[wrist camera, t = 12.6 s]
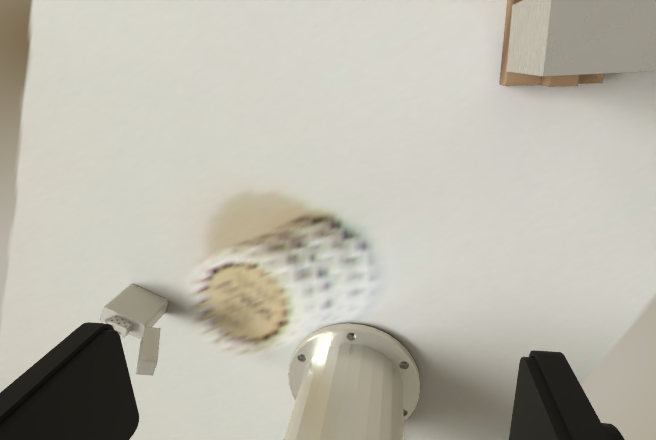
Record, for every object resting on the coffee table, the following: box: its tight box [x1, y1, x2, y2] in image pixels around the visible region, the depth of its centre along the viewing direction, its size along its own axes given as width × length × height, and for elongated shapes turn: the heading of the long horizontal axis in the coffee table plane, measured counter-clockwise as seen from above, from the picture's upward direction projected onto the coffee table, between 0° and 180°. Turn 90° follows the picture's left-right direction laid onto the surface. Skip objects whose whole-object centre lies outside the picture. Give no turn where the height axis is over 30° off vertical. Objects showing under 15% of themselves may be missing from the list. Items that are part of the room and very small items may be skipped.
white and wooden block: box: [507, 0, 656, 76], centre depth 24 cm, size 5×6×8 cm
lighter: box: [100, 284, 169, 375], centre depth 39 cm, size 7×2×8 cm, turn 67°
